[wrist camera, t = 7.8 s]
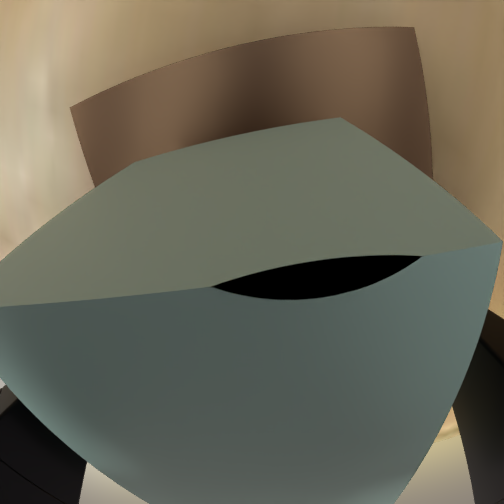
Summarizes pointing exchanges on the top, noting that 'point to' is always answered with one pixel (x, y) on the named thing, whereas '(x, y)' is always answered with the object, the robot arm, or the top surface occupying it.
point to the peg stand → (264, 97)
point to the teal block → (251, 319)
